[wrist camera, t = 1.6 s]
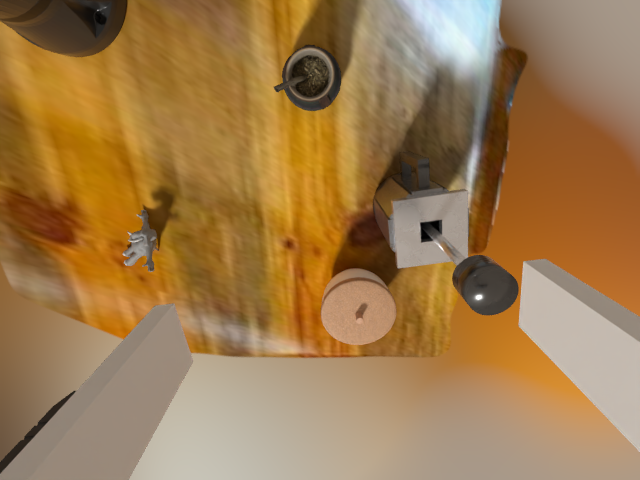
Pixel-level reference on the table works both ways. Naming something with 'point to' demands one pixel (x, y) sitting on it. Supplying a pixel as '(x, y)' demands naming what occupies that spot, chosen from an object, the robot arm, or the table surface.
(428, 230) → the plunger
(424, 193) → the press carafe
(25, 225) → the table surface
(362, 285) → the lidded jar
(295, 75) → the mate gourd
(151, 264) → the grey animal figurine
